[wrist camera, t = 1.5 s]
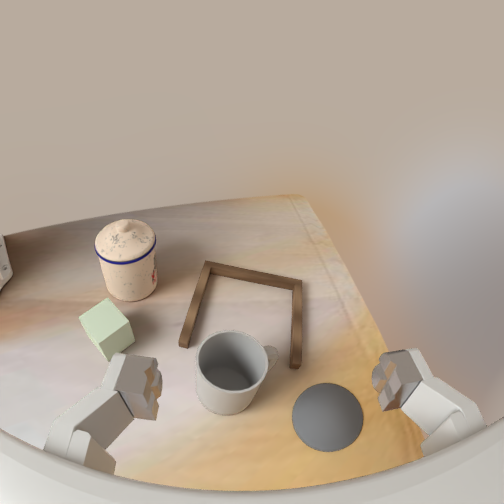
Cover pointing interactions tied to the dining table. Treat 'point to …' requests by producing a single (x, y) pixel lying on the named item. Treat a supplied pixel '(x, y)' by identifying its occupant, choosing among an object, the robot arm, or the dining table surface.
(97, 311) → the sage box
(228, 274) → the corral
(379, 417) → the dining table surface
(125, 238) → the teacup with lid
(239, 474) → the dining table surface
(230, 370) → the cup
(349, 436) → the slate coaster
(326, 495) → the robot arm
